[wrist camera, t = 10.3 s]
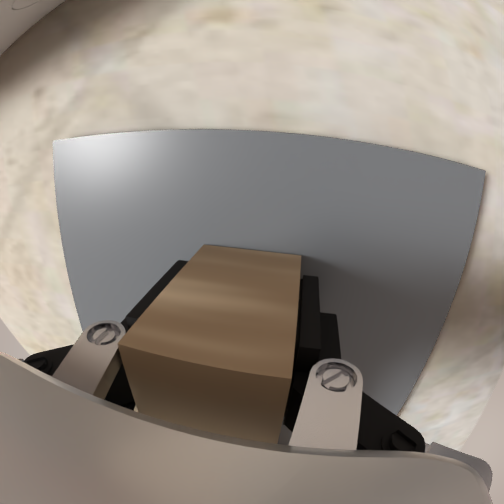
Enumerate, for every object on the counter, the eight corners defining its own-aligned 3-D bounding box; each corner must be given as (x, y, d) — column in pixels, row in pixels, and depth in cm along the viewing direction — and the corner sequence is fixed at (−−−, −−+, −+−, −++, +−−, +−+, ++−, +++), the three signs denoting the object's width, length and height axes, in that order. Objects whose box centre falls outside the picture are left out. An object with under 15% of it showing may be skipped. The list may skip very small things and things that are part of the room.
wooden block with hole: (276, 483, 18) (264, 547, 12) (202, 470, 18) (181, 531, 13) (331, 259, 10) (349, 383, 5) (176, 241, 11) (79, 331, 6)
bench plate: (69, 138, 12) (52, 140, 11) (471, 166, 9) (485, 170, 8) (131, 428, 20) (125, 439, 19) (350, 467, 18) (350, 480, 17)
